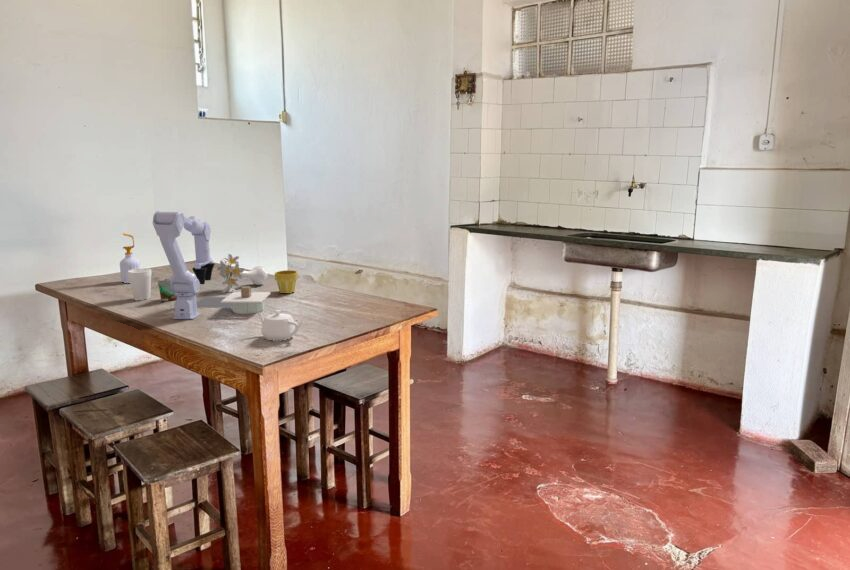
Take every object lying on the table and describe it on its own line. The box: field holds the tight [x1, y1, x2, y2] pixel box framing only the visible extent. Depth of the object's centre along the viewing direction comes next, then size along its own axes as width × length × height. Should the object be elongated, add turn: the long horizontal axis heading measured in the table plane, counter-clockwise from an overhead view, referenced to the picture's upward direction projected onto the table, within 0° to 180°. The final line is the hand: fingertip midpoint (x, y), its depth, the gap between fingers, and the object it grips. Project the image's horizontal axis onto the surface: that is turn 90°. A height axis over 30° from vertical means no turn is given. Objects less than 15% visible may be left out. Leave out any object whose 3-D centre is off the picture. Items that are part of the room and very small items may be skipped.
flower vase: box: [216, 253, 269, 293], centre depth 297 cm, size 13×18×25 cm
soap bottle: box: [119, 232, 141, 284], centre depth 309 cm, size 9×9×25 cm
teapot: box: [257, 309, 300, 341], centre depth 221 cm, size 20×12×10 cm, turn 58°
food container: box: [157, 278, 177, 303], centre depth 274 cm, size 12×6×10 cm, turn 168°
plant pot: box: [274, 269, 298, 294], centre depth 289 cm, size 10×10×10 cm
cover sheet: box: [221, 285, 271, 303], centre depth 256 cm, size 16×16×5 cm
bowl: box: [230, 299, 266, 315], centre depth 257 cm, size 13×13×6 cm
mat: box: [196, 296, 231, 309], centre depth 270 cm, size 18×18×1 cm
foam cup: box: [128, 268, 153, 301], centre depth 276 cm, size 10×9×13 cm
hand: (204, 282), depth 263 cm, fingers open, 7 cm apart
